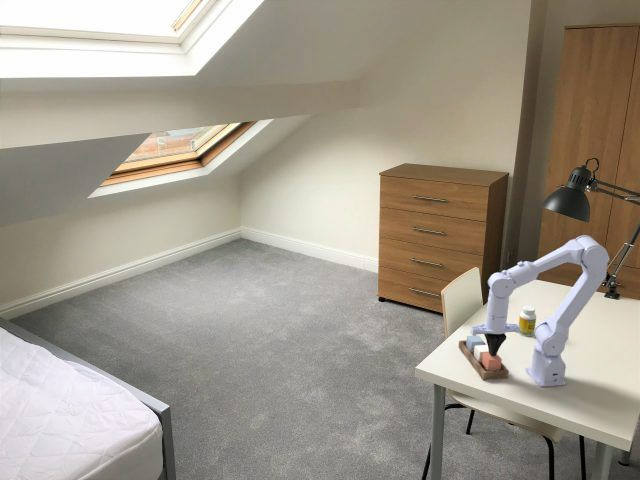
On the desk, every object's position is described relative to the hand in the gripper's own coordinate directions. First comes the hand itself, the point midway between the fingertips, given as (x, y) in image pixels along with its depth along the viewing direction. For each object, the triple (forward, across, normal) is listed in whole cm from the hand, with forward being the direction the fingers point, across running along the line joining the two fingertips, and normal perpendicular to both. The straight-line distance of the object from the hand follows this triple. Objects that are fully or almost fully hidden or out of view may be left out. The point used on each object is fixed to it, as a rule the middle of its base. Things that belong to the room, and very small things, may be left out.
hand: (492, 354), depth 159 cm
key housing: (+6, 0, -6) cm, 9 cm away
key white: (+5, 0, -6) cm, 8 cm away
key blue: (+5, 0, -12) cm, 13 cm away
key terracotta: (+4, 0, 0) cm, 4 cm away
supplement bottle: (+7, -23, -22) cm, 33 cm away
